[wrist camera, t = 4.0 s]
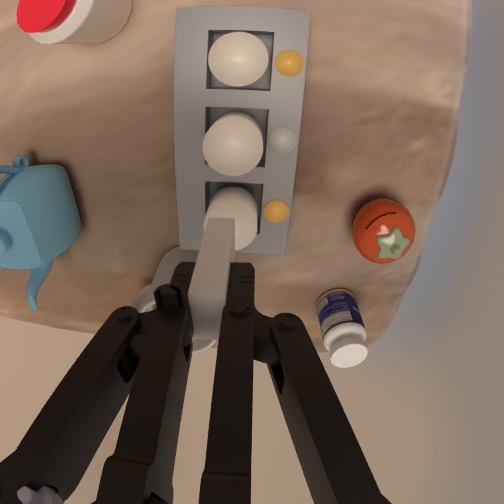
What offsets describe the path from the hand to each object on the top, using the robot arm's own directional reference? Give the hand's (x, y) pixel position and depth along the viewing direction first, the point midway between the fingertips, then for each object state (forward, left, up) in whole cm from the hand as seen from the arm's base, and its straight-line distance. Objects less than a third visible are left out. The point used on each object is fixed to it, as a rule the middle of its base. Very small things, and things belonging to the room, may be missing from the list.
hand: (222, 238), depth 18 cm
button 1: (0, -4, -12) cm, 12 cm away
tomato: (+17, -6, -17) cm, 24 cm away
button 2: (0, +10, -13) cm, 17 cm away
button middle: (0, +3, -12) cm, 12 cm away
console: (0, +3, -16) cm, 17 cm away
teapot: (-25, -7, -17) cm, 31 cm away
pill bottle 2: (+14, -20, -17) cm, 29 cm away
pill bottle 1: (-15, +17, -17) cm, 29 cm away
